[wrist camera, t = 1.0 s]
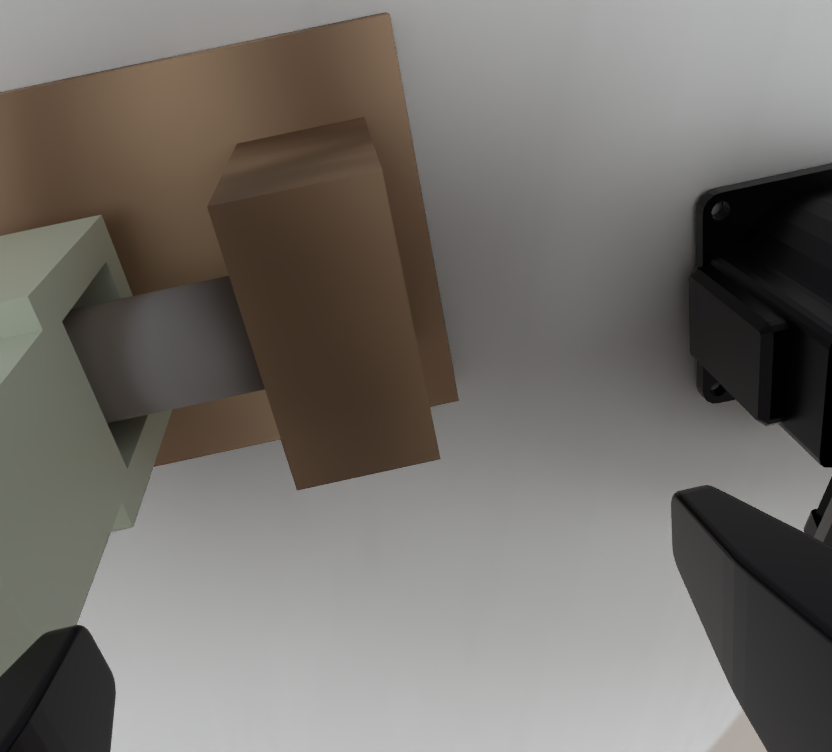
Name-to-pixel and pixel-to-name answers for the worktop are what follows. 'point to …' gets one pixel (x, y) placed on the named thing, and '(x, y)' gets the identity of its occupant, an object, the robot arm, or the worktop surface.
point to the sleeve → (59, 433)
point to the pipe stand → (249, 246)
